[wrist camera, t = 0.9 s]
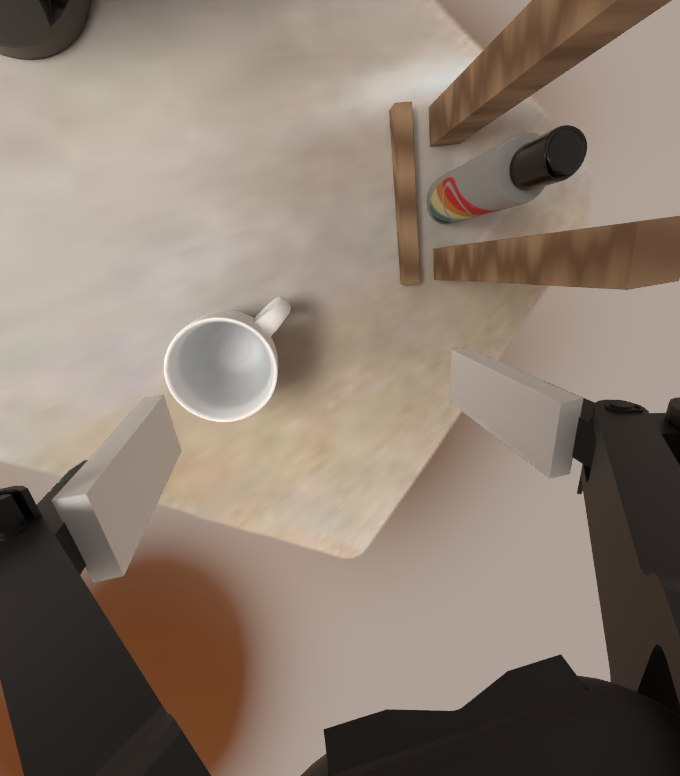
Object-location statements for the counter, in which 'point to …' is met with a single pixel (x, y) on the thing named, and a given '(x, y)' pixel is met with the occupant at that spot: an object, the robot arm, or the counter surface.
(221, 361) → the mug
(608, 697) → the robot arm
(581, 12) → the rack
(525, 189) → the lotion bottle
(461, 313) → the counter surface
